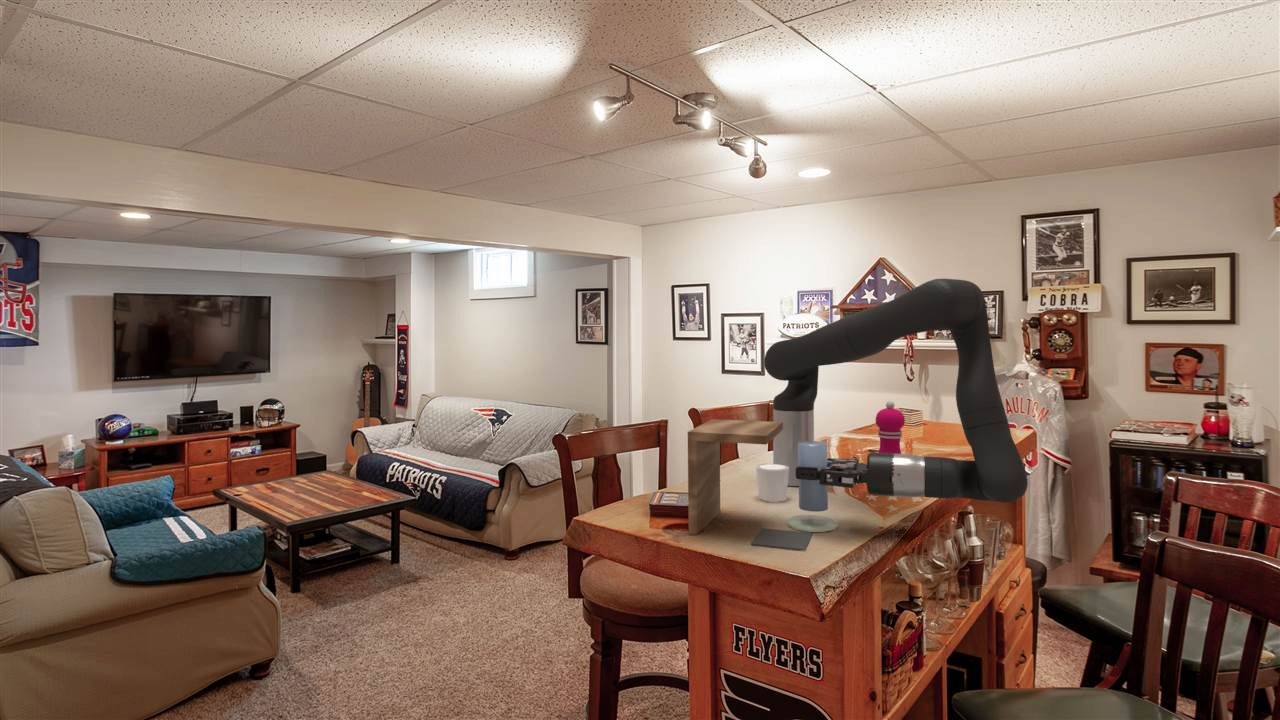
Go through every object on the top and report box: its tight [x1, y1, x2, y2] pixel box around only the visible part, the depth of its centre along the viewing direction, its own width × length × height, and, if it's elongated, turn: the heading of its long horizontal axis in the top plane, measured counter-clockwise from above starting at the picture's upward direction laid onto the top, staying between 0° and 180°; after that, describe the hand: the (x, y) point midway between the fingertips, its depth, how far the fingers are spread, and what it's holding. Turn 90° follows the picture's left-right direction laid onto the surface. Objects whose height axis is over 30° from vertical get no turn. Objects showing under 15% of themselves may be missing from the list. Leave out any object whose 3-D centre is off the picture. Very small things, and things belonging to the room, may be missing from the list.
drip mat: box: [750, 527, 813, 551], centre depth 116 cm, size 9×9×1 cm
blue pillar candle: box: [798, 440, 829, 513], centre depth 123 cm, size 5×5×12 cm
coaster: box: [787, 514, 839, 533], centre depth 124 cm, size 9×9×1 cm
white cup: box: [755, 463, 789, 503], centre depth 142 cm, size 7×7×7 cm
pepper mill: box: [875, 400, 906, 454], centre depth 146 cm, size 7×7×20 cm
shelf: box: [687, 418, 783, 536], centre depth 124 cm, size 14×16×18 cm
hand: (798, 469), depth 124 cm, fingers closed on blue pillar candle, 5 cm apart
